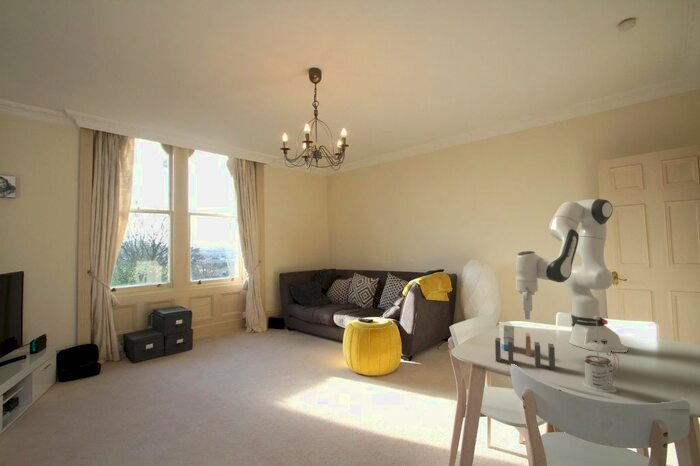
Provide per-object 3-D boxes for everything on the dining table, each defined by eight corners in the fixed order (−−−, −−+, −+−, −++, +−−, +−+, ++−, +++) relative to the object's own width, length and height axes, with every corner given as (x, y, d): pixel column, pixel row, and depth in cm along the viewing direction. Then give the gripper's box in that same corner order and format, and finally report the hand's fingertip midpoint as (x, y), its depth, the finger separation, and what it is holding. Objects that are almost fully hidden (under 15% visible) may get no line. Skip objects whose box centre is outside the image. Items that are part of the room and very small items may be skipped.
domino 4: (539, 363, 136) (539, 342, 136) (540, 368, 131) (540, 346, 132) (534, 363, 137) (534, 341, 137) (535, 367, 132) (535, 345, 132)
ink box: (515, 351, 152) (514, 325, 152) (503, 350, 153) (503, 325, 153) (509, 345, 160) (509, 321, 160) (499, 344, 161) (498, 320, 161)
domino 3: (530, 353, 149) (529, 333, 149) (530, 356, 144) (530, 336, 144) (526, 352, 150) (525, 333, 150) (526, 355, 145) (525, 335, 145)
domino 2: (513, 360, 140) (512, 339, 141) (513, 364, 136) (512, 342, 136) (508, 359, 141) (508, 338, 141) (508, 363, 137) (508, 342, 137)
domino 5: (553, 365, 134) (553, 344, 134) (555, 370, 129) (554, 347, 129) (548, 365, 134) (548, 343, 135) (549, 369, 130) (549, 347, 130)
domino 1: (500, 358, 143) (500, 338, 143) (500, 362, 138) (499, 341, 138) (496, 357, 144) (495, 337, 144) (495, 361, 139) (495, 340, 139)
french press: (575, 380, 120) (573, 312, 120) (607, 380, 119) (605, 312, 120) (594, 392, 110) (592, 319, 110) (629, 392, 110) (627, 319, 110)
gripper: (535, 290, 137) (536, 322, 137) (533, 284, 155) (533, 313, 155) (518, 289, 140) (519, 321, 139) (518, 283, 158) (519, 311, 158)
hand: (527, 316), depth 147 cm, fingers open, 8 cm apart
